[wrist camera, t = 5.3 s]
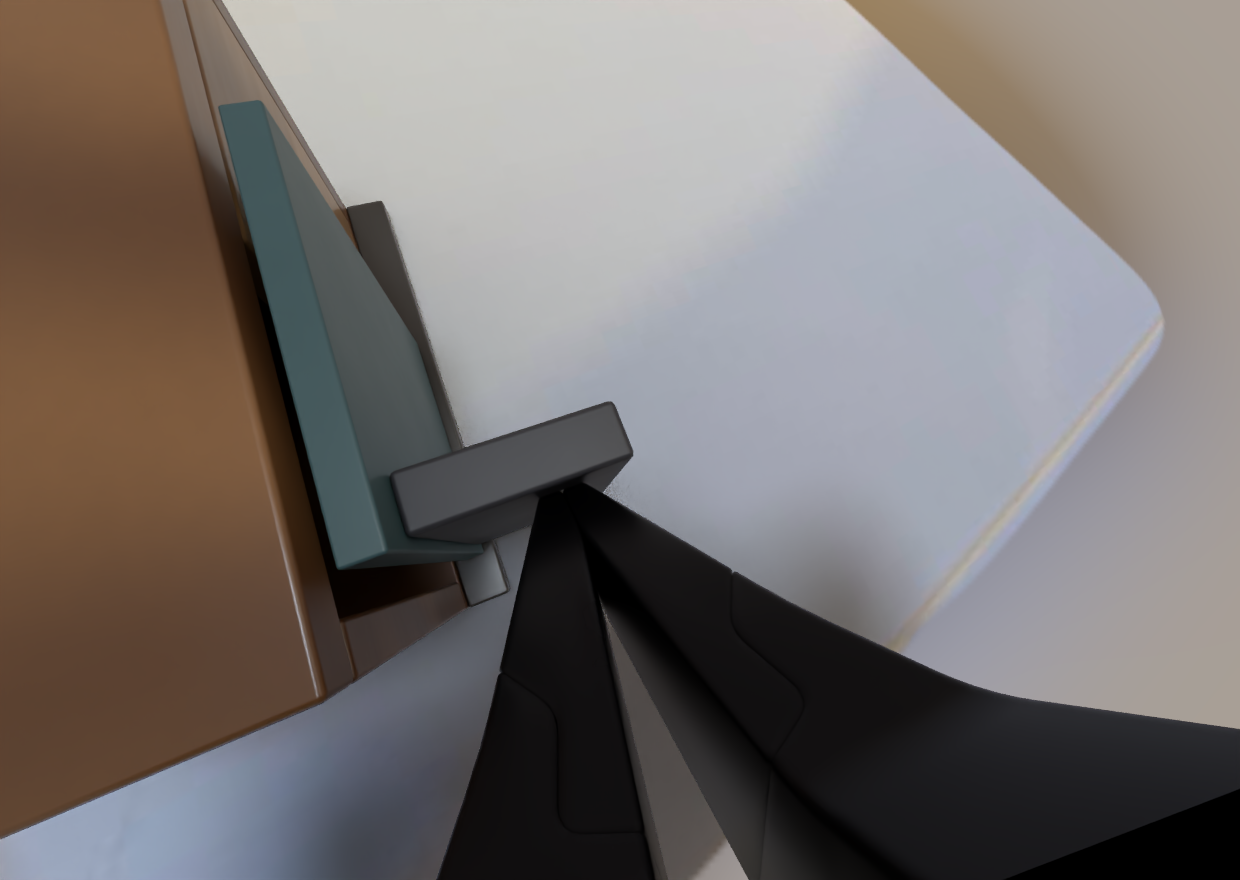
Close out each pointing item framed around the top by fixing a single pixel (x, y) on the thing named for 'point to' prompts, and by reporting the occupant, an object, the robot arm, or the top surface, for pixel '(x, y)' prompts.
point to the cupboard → (163, 419)
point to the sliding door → (386, 388)
